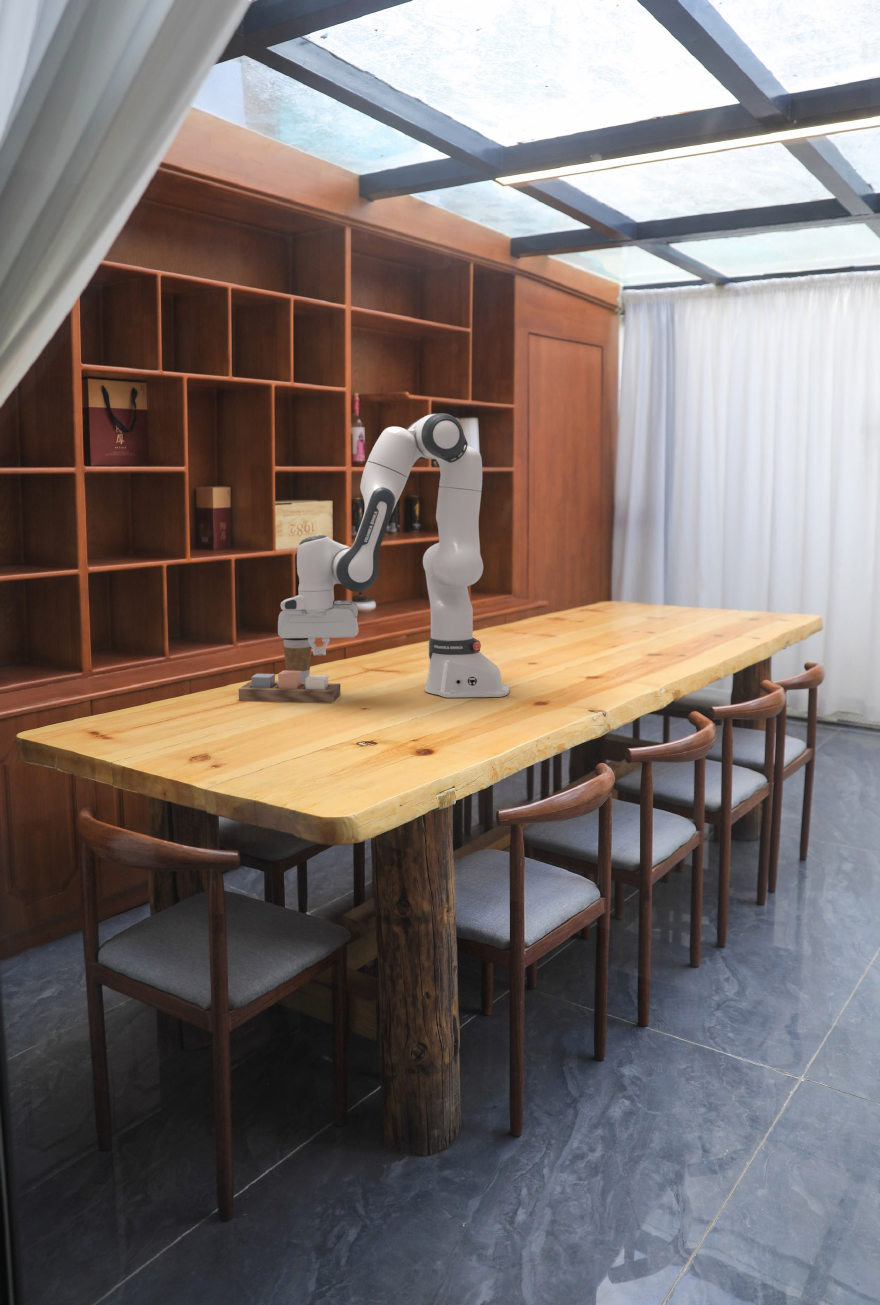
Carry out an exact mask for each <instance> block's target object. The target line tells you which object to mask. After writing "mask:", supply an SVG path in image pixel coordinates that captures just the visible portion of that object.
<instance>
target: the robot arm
mask: <svg viewBox="0 0 880 1305" xmlns="http://www.w3.org/2000/svg"><path fill="white" fill-rule="evenodd" d="M377 438H378V439H377V440H376V441H375V443H374V446H373V447H372V450H371V451H370V453H369V455H368V457H367V460H366V463H365V465H364V468H363V472H362V476H361V480H360V485H359V488H360V492H361V495H362V498H363V502H364V512H363V516H362V519H361V522H360V524H359V529H357V530H358V531H357V533H356V537H355V539H354V542H353V544H352V545H351V546H348V545H345V544H342V543H340V542H338V541H335V540H333V539H331V538H330V537H329V536H328V535H324V534H321V535H319V534H318V535H314V536H310V537H307V538H304V539H302V540H301V541H300V542H299V544H298V545H297V546H298V547H297V549H296V568H297V569H296V572H297V576H298V581H299V584H298V588H297V589H298V592H297V593H298V595H293V596H291V597H290V598H286V599H284V600H283V601H281V602H280V609H281V611H280V612H279V615H278V620H277V635H278V636H279V637H280V638H281V639H282V638H308V643H309V644H310V646H311V647H312V649H311V650H312V654H313V656H326V654H327V651H326V650H327V647H328V645H329V643H330V638H333V639H334V638H335V639H337V638H355V637H356V636H357V635H358V634H359V624H358V616H359V611H358V610H359V607H358V605H357V603H355V602H354V601H352V600H335V594H334V593H335V590H334V587H335V585H338V584H339V585H342V586H343V588H345V589H346V590H348V591H349V592H350V591H351V592H356V593H357V592H359V593H360V592H364V591H366V590H369V589H370V588H371V587H372V586H373V585H374V584H375V582H376V581H377V579H378V575H379V553H380V549H381V546H382V543H383V540H384V537H385V534H386V531H387V528H388V526H389V522H390V519H391V516H392V514H393V512H394V509H395V508H396V505H397V503H398V501H399V499H400V498H401V497H400V496H402V494H403V493H402V492H403V491H404V488H405V487H406V484H407V481H408V479H409V476H410V473H411V470H412V467H413V466H414V464H415V463H416V462H417V461H418V460H419V459H422V460H430V459H431V460H436V462H437V464H438V466H439V470H440V471H439V472H440V476H439V477H440V478H439V484H438V486H439V487H438V493H437V494H438V495H437V502H436V510H435V511H436V513H435V520H436V523H437V529H438V530H437V531H438V532H437V533H438V542H437V543H434V544H433V545H431V546H430V547H429V548H427V550H426V551H425V552H424V554H423V557H422V565H423V566H422V567H423V569H424V572H425V579H426V587H427V593H428V600H429V604H430V605H429V606H430V607H429V608H430V637H429V640H428V658H429V666H428V673H427V678H426V683H425V686H424V692H426V693H429V694H432V695H436V696H437V695H438V696H441V697H443V698H497V697H498V698H499V697H500V698H501V697H504V696H507V695H509V694H510V692H509V691H510V686H509V684H506V683H503V682H502V676H501V671H500V668H499V666H498V665H496V663H494V662H493V661H491V660H490V659H489V658H488V657H487V656H485V655H484V654H483V653H482V652H480V651H481V647H482V644H481V641H480V639H476V638H474V636H473V631H474V630H473V629H474V628H473V627H474V625H473V624H474V623H473V622H474V621H473V619H474V617H473V616H474V615H473V613H474V608H473V605H472V603H471V599H470V595H469V590H468V589H469V588H468V587H469V586H472V585H474V584H476V583H477V582H478V581H479V580H480V579H481V577H482V575H483V573H484V572H483V571H484V563H483V562H484V561H483V559H482V555H481V544H480V530H479V527H480V526H479V525H480V524H479V520H480V519H479V518H480V511H481V510H480V509H481V501H482V500H481V499H482V491H483V489H482V488H483V461H482V460H483V459H482V455H481V453H480V451H478V450H477V449H476V448H474V447H472V446H469V445H468V441H467V438H466V436H465V433H464V429H463V426H462V424H461V423H460V422H459V420H458V419H457V418H456V417H454V416H453V415H451V414H449V413H445V412H440V413H431V414H428V415H425V416H424V417H423V416H422V417H421V418H418V419H416V420H415V421H414V422H413V423H411V424H410V425H409V426H408V427H406V428H403V427H401V426H388V427H386V428H384V430H382V432H381V434H380V435H379V437H377ZM316 639H321V640H322V643H323V644H322V647H317V645H316V643H315V642H316Z"/></svg>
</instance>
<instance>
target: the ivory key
mask: <svg viewBox="0 0 880 1305" xmlns="http://www.w3.org/2000/svg"><path fill="white" fill-rule="evenodd" d="M328 683H329V675H322V674H321V675H319V674H315V675H314V674H309V676H308V677H307V678H306V679H305V685H306V689H320V690H326V689H327V688H328Z"/></svg>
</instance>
